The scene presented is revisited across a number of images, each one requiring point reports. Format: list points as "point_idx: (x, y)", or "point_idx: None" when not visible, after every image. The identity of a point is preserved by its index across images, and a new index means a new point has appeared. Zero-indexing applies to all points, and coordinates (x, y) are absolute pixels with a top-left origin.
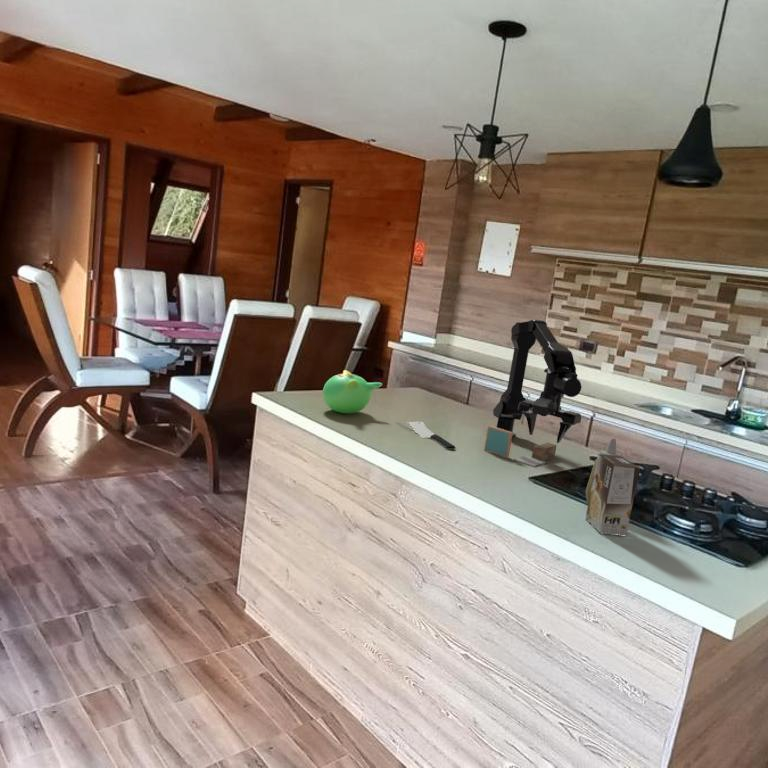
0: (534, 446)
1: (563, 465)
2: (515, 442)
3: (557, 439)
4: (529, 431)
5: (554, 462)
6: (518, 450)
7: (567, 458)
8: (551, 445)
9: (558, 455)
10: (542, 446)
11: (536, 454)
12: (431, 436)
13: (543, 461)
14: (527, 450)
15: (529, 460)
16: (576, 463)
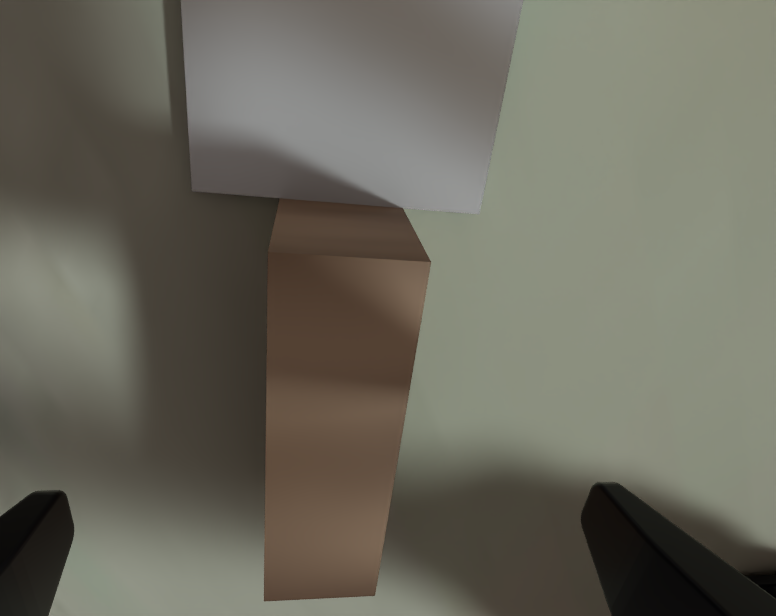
0: (421, 278)
1: (41, 314)
2: None
3: (15, 538)
4: (659, 516)
5: (167, 325)
6: (595, 363)
7: (185, 554)
8: (294, 545)
9: None
10: (342, 399)
11: (349, 220)
12: None
13: (226, 177)
14: (527, 442)
15: (362, 10)
16: None
